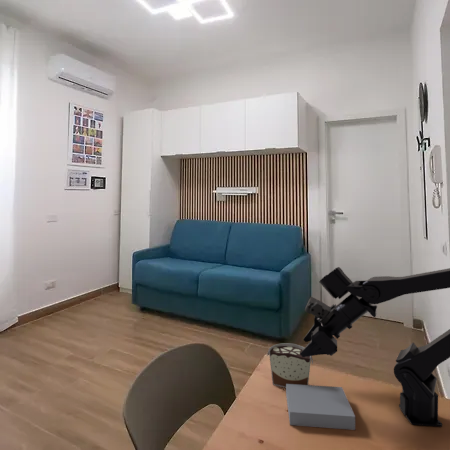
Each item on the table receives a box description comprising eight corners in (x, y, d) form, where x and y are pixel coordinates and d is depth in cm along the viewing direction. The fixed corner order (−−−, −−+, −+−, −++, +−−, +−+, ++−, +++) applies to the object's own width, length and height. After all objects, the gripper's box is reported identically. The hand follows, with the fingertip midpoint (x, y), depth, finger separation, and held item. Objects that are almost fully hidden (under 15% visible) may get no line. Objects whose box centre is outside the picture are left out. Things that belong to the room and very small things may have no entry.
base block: (341, 398, 76) (341, 387, 75) (355, 429, 65) (355, 416, 65) (286, 395, 77) (286, 383, 77) (289, 424, 66) (289, 412, 66)
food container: (315, 381, 83) (315, 346, 83) (313, 393, 78) (313, 356, 77) (272, 372, 88) (272, 339, 88) (267, 383, 83) (267, 348, 82)
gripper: (324, 281, 88) (286, 314, 92) (322, 299, 70) (276, 338, 75) (352, 310, 86) (313, 342, 90) (358, 336, 68) (308, 374, 72)
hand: (302, 347), depth 82 cm, fingers open, 9 cm apart
